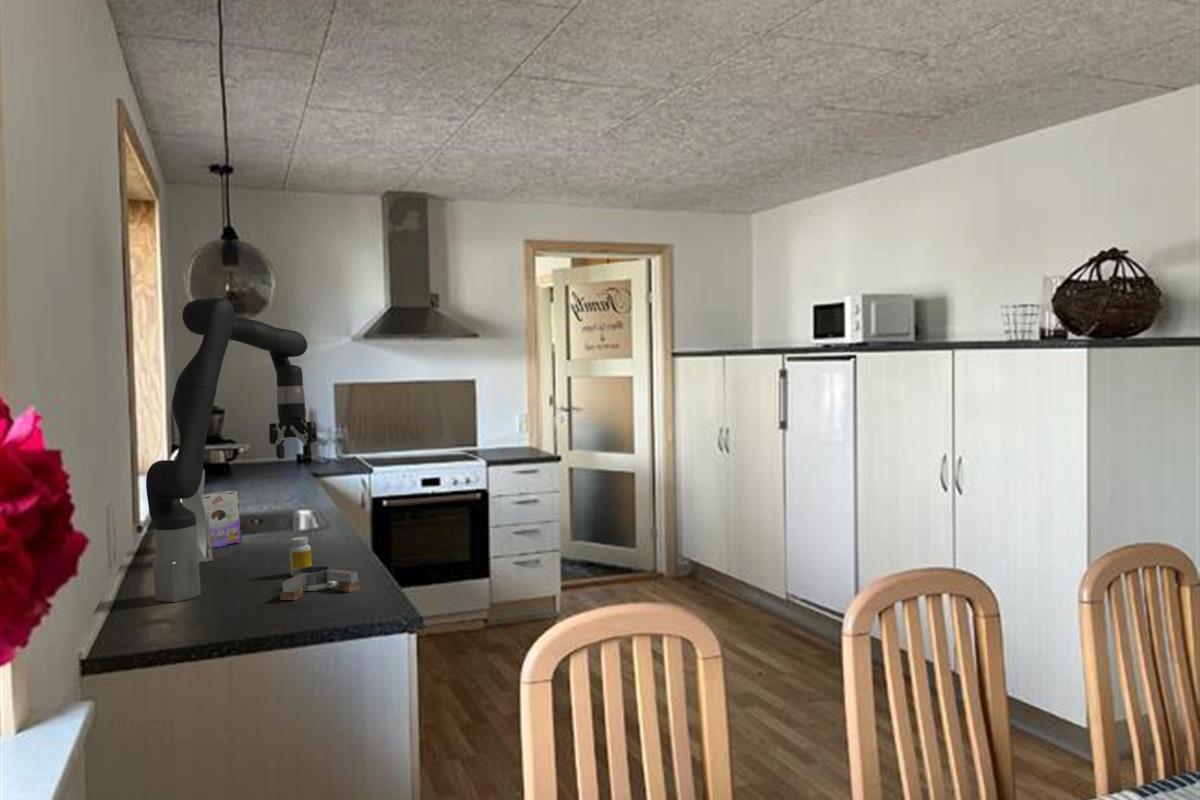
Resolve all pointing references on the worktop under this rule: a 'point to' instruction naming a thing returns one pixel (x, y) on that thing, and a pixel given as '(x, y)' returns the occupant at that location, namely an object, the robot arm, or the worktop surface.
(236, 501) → the candy box
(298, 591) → the blocks
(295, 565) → the supplement bottle
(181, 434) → the robot arm
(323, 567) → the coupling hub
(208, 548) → the skyscraper
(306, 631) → the worktop surface
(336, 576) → the angled shafts
